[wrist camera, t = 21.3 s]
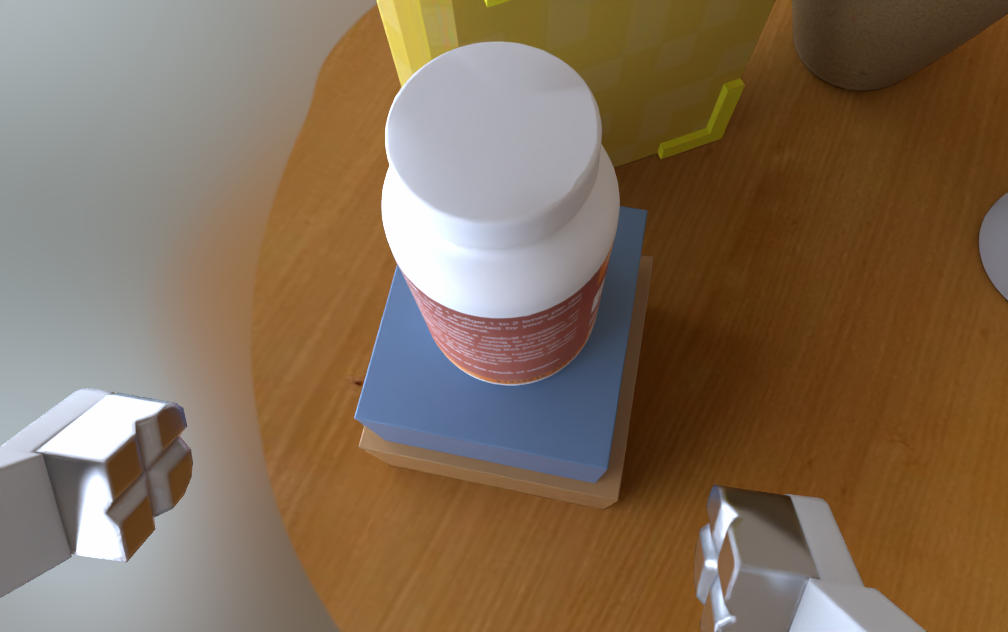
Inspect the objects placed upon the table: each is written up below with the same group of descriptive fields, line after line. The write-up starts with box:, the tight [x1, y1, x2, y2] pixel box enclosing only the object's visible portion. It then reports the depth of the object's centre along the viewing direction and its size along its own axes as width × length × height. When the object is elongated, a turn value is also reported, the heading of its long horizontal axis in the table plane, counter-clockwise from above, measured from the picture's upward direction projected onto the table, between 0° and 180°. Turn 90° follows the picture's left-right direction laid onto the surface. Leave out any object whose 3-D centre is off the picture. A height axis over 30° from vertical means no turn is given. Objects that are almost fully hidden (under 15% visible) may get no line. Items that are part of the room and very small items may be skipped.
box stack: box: [355, 206, 654, 509], centre depth 30 cm, size 11×11×11 cm
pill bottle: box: [382, 42, 620, 386], centre depth 19 cm, size 6×6×11 cm
